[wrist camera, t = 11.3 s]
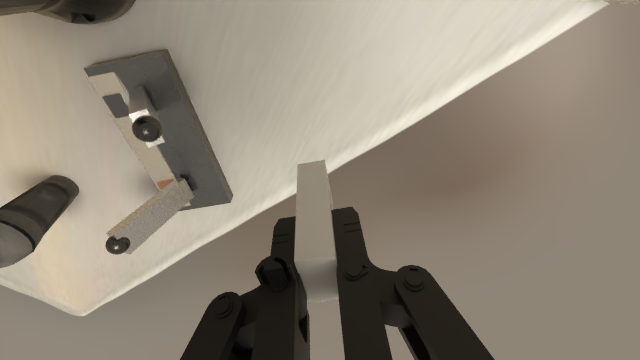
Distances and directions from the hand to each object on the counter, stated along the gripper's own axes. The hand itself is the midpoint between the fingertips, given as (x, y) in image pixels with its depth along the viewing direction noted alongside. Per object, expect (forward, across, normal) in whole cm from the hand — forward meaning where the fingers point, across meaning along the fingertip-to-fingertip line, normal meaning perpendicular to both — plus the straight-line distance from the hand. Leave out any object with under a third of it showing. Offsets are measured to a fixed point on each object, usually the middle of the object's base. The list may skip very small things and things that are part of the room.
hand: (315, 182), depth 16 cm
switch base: (+26, -22, -7) cm, 35 cm away
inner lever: (+24, -22, 0) cm, 33 cm away
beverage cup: (+27, -44, -11) cm, 52 cm away
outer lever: (+24, -22, -14) cm, 36 cm away
